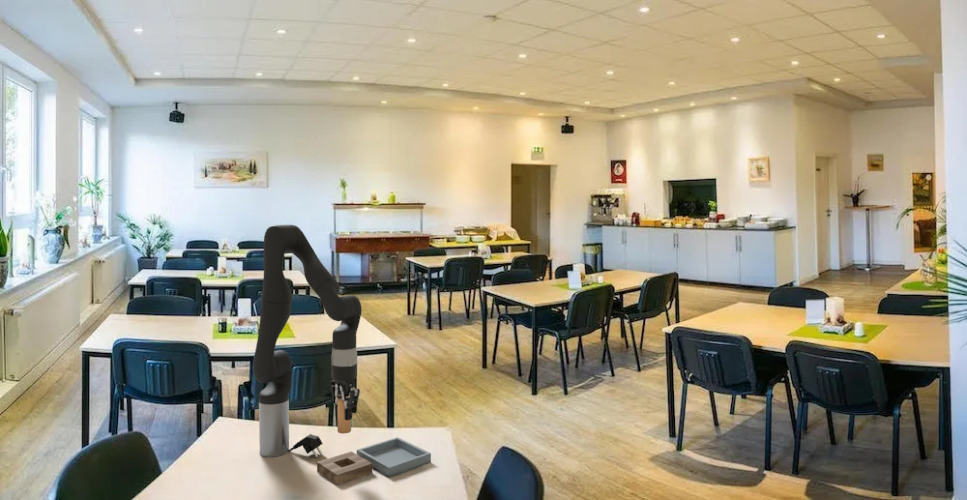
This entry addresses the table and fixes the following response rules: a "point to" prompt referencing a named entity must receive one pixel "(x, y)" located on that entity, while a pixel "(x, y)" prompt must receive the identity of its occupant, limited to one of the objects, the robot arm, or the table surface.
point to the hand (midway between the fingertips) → (344, 417)
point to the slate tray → (394, 456)
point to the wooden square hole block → (344, 467)
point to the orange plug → (343, 418)
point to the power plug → (309, 444)
